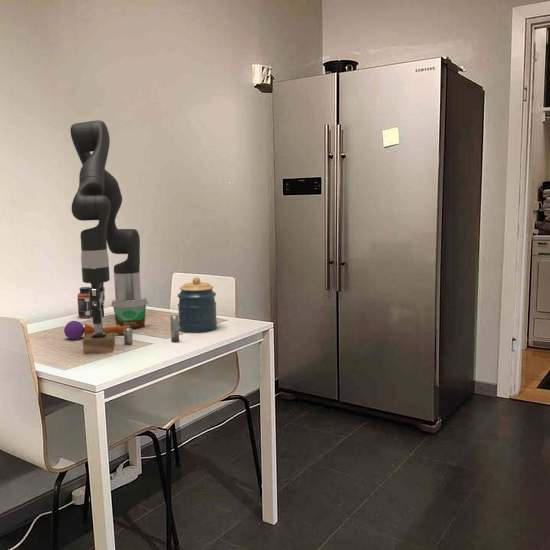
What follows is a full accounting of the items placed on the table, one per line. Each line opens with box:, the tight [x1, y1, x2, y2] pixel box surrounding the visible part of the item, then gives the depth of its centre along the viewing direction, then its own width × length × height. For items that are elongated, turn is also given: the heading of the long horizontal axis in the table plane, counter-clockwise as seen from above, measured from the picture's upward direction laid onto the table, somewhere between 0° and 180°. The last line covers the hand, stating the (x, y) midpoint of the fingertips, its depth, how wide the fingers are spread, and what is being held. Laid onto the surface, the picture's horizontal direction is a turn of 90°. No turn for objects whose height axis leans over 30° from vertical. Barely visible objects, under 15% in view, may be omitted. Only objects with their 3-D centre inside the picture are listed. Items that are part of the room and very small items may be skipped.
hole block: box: [82, 332, 116, 355], centre depth 162 cm, size 8×8×4 cm
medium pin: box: [169, 314, 180, 343], centre depth 170 cm, size 2×2×8 cm
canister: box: [177, 276, 218, 333], centre depth 186 cm, size 13×13×18 cm
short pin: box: [123, 328, 134, 346], centre depth 167 cm, size 2×2×5 cm
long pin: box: [93, 309, 104, 338], centre depth 161 cm, size 2×2×12 cm
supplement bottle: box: [77, 286, 93, 319], centre depth 209 cm, size 6×6×11 cm
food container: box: [110, 297, 149, 331], centre depth 188 cm, size 12×6×10 cm, turn 114°
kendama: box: [63, 320, 130, 340], centre depth 177 cm, size 6×6×20 cm
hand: (98, 320), depth 161 cm, fingers open, 8 cm apart
